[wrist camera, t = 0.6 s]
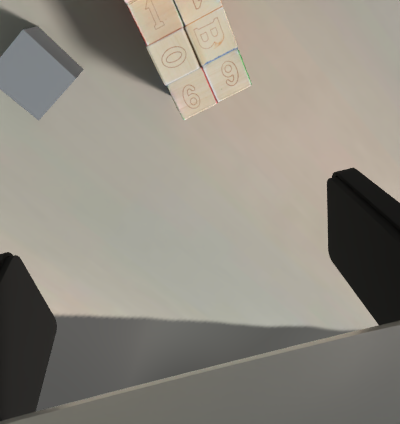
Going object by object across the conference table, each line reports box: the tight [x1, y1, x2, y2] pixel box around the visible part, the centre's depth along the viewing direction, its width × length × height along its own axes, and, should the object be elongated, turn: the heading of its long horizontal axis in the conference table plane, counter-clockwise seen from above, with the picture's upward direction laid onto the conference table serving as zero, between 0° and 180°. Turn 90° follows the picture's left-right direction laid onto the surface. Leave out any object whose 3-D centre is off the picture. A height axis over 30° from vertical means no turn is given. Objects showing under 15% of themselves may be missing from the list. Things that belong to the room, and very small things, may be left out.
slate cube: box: [0, 26, 83, 120], centre depth 32 cm, size 5×5×5 cm
